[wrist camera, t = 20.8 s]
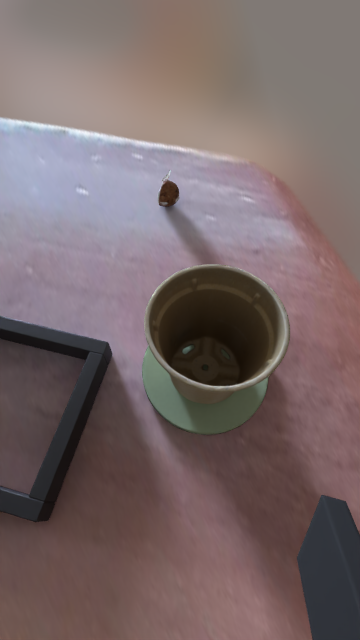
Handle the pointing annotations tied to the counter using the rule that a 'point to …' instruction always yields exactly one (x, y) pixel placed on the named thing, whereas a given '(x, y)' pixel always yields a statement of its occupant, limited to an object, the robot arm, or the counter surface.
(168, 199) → the chocolate
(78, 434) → the holder
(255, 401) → the coaster
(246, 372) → the flower pot
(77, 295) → the counter surface
